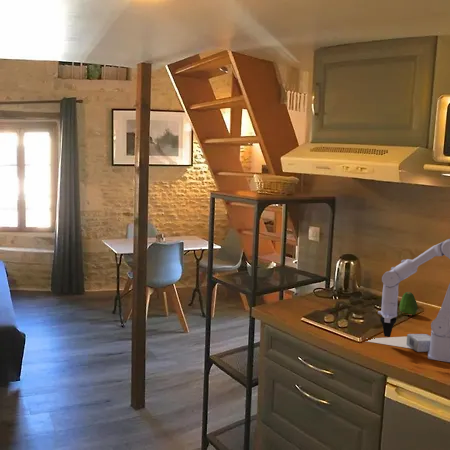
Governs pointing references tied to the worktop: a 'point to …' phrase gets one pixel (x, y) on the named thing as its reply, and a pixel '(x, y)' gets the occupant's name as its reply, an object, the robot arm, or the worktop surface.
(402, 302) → the avocado
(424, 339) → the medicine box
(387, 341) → the card
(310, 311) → the worktop surface
